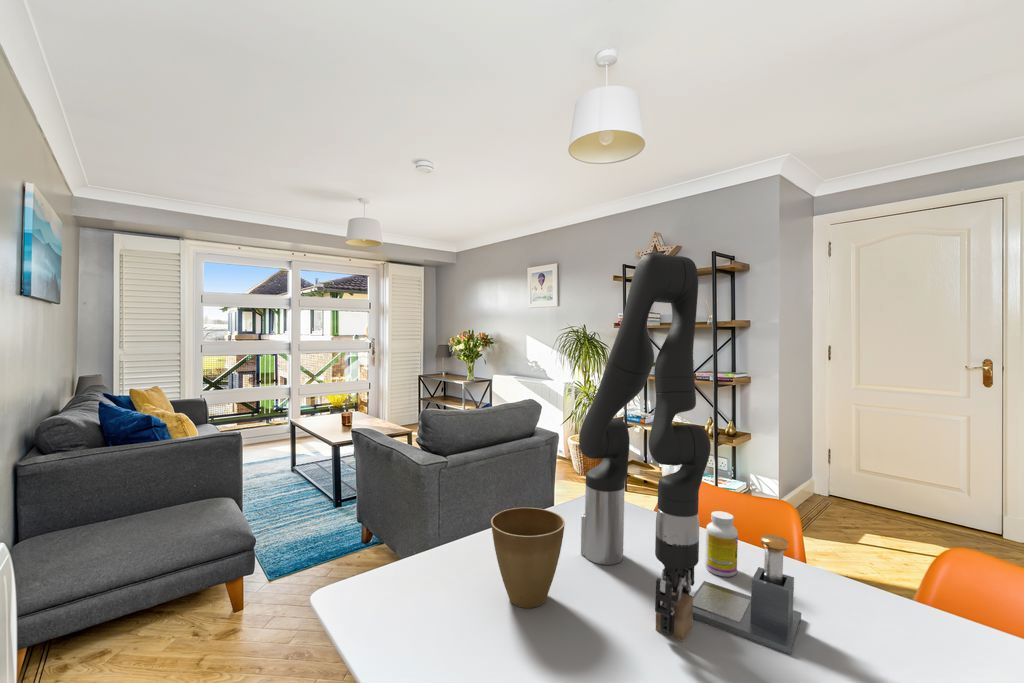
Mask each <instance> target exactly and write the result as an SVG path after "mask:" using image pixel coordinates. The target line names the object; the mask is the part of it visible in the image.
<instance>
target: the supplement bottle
mask: <svg viewBox="0 0 1024 683" xmlns="http://www.w3.org/2000/svg"><path fill="white" fill-rule="evenodd" d="M710 518H711V522H709V523H708V524H707V525H706V526H705V527H706V529H705V530H706V532H705V559H704V561H705V562H704V564H705V568H706V569H707V571H708V572H710V573H711V574H713V575H716V576H719V577H727V578H729V577H733V576H735V575H736V574H737V571H738V549H739V548H738V543H739V542H738V540H739V539H738V538H739V533H738V530H737V528H736V527H735V526H734V525H733V524H734V522H735V521H734V520H735V518H734V515H733V514H731V513H729V512H726V511H720V510H718V511H717V510H716V511H712V512H711V515H710Z"/></svg>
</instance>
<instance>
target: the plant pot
mask: <svg viewBox="0 0 1024 683" xmlns="http://www.w3.org/2000/svg"><path fill="white" fill-rule="evenodd" d="M490 524H491V531H492V532H491V533H492V539H493V545H494V546H493V547H494V552H495V556H496V560H497V564H498V567H499V569H498V570H499V571H500V575H501V578H502V582H503V585H504V588H505V591H506V594H507V596H508V598H509V601H510V602H511V603H512V604H513V605H514V606H516V607H519V608H523V609H533V608H537V607H539V606H542V605H543V604H544V603H545V601H546V600H547V596H548V595H549V591H550V589H551V587H552V583H553V580H554V579H555V578H554V577H555V573H556V570H557V567H558V564H559V563H558V562H559V559H560V555H561V550H562V545H563V539H564V531H565V525H566V522H565V519H564V518H563V517H562V516H561V515H560V514H559V513H556V512H554V511H552V510H548V509H543V508H540V507H539V508H538V507H514V508H509V509H505V510H502V511H499V512H498V513H495V515H493V516H492V517H491V519H490Z"/></svg>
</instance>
